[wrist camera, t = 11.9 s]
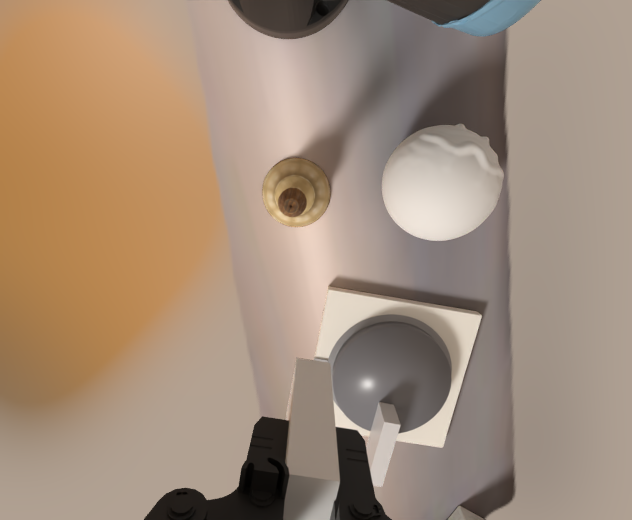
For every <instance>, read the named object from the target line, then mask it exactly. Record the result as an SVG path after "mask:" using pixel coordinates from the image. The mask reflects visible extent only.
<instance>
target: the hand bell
mask: <svg viewBox="0 0 632 520" xmlns="http://www.w3.org/2000/svg"><path fill="white" fill-rule="evenodd" d="M262 195H263V201H264V204H265V207H266V209H267V211H268V212H269V213H270V215H271V216H272V217H273V218H274V219H275V220H277V221H278V222H280V223H282V224H284V225H287V226H291V227H303V226H307V225H309V224H312V223H313V222H315V221H316V220H318V219H319V218H320V217H321V216H322V215H323V214H324V212H325V211H326V209H327V207H328V204H329V200H330V185H329V182H328V179H327V177H326V175H325V174H324V172H323V171H322V170H321V169H320V168H319V167H318V166H317V165H316V164H314V163H313V162H311V161H309V160H306V159H301V158H291V159H286V160H283V161H281V162H279V163H278V164H276V165H275V166H274V167H273V168H272V169H271V170H270V171H269V172H268V174H267V176H266V177H265V180H264V183H263V189H262Z"/></svg>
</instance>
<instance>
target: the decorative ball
mask: <svg viewBox="0 0 632 520" xmlns="http://www.w3.org/2000/svg"><path fill="white" fill-rule="evenodd" d="M503 177H504V173H503V170H502V169H501V167H500V166H499V163H498V156H497V154H496V153H495V152H494V151H493V150H492V148H491V147H490V146H489V138H488V137H485V136H484V137H481V136H479V135H478V134H476V133H475V132H472V131H471V130H468V129H466V128H465V126H464V125H463V124H461V123H460V124H457V125H455V126H453V125H438V126H432V127H427V128H424V129H421V130H419V131H417V132H415V133H414V134H412V135H410V136H409V137H408V138H406V139H405V140H404V141H403V142H402V143H400V144H399V146H398V147H397V148H396V149H395V150H394V152H393V153H392V154H391V156H390V158H389V160H388V162H387V164H386V167H385V169H384V173H383V178H382V194H383V199H384V203H385V206H386V208H387V210H388V212H389V214H390V216H391V217H392V219H393V220H394V221H395V222H396V223H397V224H398V225H399V226H400V227H401V228H402V229H403V230H405V231H406V232H408V233H410V234H411V235H414V236H416V237H419V238H422V239H426V240H433V241H443V240H450V239H454V238H458V237H461V236H463V235H465V234H467V233H469V232H471V231H472V230H474V229H475V228H477V227H478V226H479V225H480V224H481V223H482V222H483V221H484V220H485V219H486V218H487V217H488V216H489V215H490V214H491V212H492V211H493V210H494V208H495V207H496V204H497V202H498V199H499V196H500V192H501V189H502V180H503Z"/></svg>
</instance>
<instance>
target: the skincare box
mask: <svg viewBox="0 0 632 520" xmlns="http://www.w3.org/2000/svg"><path fill="white" fill-rule="evenodd" d="M447 520H485V519H483V518H481V517H480V516H478V515H476V514H474V513H472V512H470V511H469V510H467V509H465V508H463V507H461V506H458V507H457V509H456V510H455V511H454V512H453V513H452V515H451V516H450V517H449V518H448V519H447Z"/></svg>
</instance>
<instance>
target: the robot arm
mask: <svg viewBox="0 0 632 520" xmlns="http://www.w3.org/2000/svg"><path fill="white" fill-rule="evenodd" d="M347 1H348V0H228V2H229V3H230V5H231V7H232V8H233V9H234V11H235V12H236V13H237V14H238V16H239V17H240V18H241V19H242V20H243V21H244V22H246V23H247V24H248V25H249V26H251V27H252V28H254V29H255V30H257V31H259V32H261V33H263V34H265V35H268V36H271V37H275V38H281V39H296V38H302V37H306V36H309V35H312V34H314V33H316V32H318V31H320V30H321V29H323V28H324V27H326V26H327V25H328V24H330V23H331V22H332V21H333V20H334V19H335V18H336V17H337V16H338V15H339V13H340V12H341V11H342V9H343V8H344V6H345V5H346V3H347ZM387 1H389V2H391V3H394V4H396V5H398V6H400V7H403V8H405V9H407V10H409V11H412V12H414V13H416V14H418V15H421V16H423V17H425V18H427V19H430V20H431V21H432V22H433V23H434V24H436V25H437V26H442V27H444V28H454V29H457V30H459V31H462V32H465V33H467V34H470V35H473V36H490V35H493V34H496V33H499V32H501V31H503V30H505V29H507V28H508V27H510V26H511V25H513V24H514V23H516V22H517V21H518V20H520V19H521V18H522V17H523V16H524V15H526V14H527V13H528V12H529V11H530V10H531V9H532V8H534V7H535V6H536V5H537V4H538V3H539V2H540V1H541V0H387ZM144 520H392V519H390V518H389V517H388V516H387V515H385V512H384V510H383V507H382V505H381V504H380V503H379V502H378V501H377V500H376V498H375V494H374V488H373V483H372V477H371V472H370V467H369V463H368V456H367V450H366V445H365V440H364V439H363V438H362V436H361V435H360V433H359V432H358V430H353V429H347V428H340V427H336V426H335V414H334V402H333V390H332V378H331V366H330V363H327V362H321V361H315V360H309V359H303V358H296V364H295V369H294V375H293V380H292V386H291V391H290V397H289V402H288V407H287V414H286V420H282V419H275V418H268V417H261V419H260V420H259V421H258V422H257V423H256V424H255V425H254V430H253V434H252V438H251V443H250V447H249V451H248V455H247V460H246V461H245V463H244V464H243V466H242V469H241V475H240V481H239V487H238V488H237V489H236V490H235V491H234V492H232V493H231V494H229V495H227V496H225V497H222V498H219V499H213V500H206V498H205V497H204V495H203V494H202V493H200V492H198V491H197V490H195V489H189V488H181V489H175V490H173V491H171V492H169V493H166V494H165V495H164V496H163V497H162V498H161V499H160V500H159V501H158V502H157V503H156V505H155V506H154V507H153V508H152V510H151V511H150V512H149V514H148V515H147V516H146V517H145V519H144Z"/></svg>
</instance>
